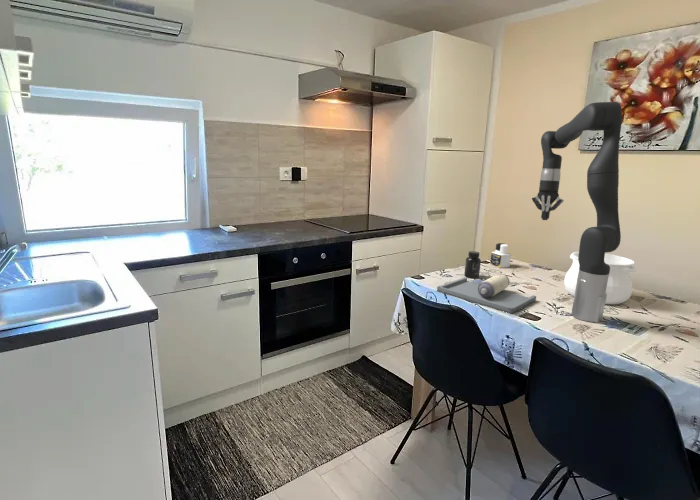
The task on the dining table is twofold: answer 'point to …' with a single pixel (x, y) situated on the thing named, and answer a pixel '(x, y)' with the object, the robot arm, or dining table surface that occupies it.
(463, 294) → the tray
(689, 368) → the dining table surface
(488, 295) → the aerosol can
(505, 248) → the medicine bottle
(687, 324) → the dining table surface
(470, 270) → the supplement bottle
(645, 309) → the dining table surface
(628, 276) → the pot
